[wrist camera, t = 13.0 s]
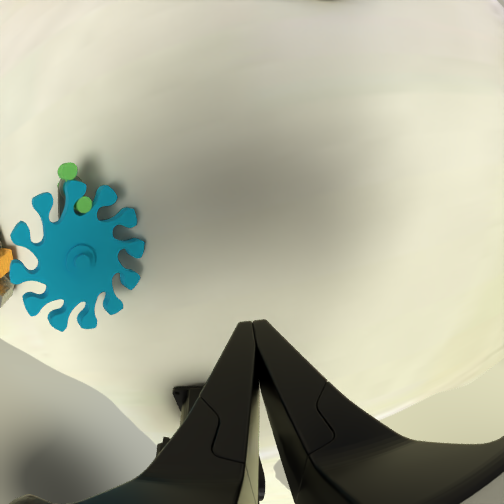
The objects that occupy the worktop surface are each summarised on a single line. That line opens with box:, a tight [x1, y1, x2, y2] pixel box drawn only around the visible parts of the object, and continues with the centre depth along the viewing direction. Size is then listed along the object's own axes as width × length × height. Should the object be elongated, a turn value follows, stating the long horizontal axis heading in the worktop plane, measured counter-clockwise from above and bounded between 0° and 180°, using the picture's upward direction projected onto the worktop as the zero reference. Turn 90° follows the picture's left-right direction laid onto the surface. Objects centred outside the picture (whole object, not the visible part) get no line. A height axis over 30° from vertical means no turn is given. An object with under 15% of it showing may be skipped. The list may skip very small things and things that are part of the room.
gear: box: [9, 163, 145, 332], centre depth 17 cm, size 11×6×10 cm
